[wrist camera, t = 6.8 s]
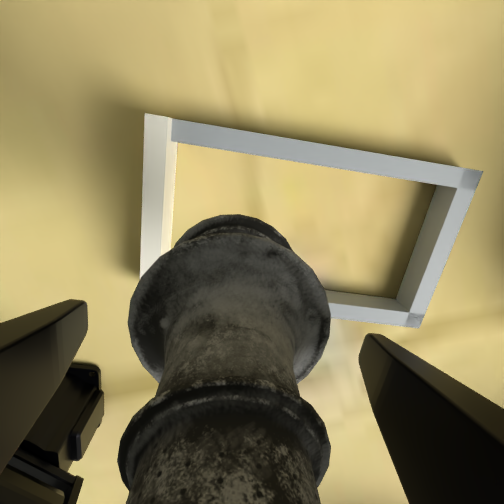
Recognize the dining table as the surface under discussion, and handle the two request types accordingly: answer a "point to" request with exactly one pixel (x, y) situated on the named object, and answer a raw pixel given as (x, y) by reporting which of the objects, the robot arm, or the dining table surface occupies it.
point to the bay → (444, 176)
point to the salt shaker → (227, 371)
